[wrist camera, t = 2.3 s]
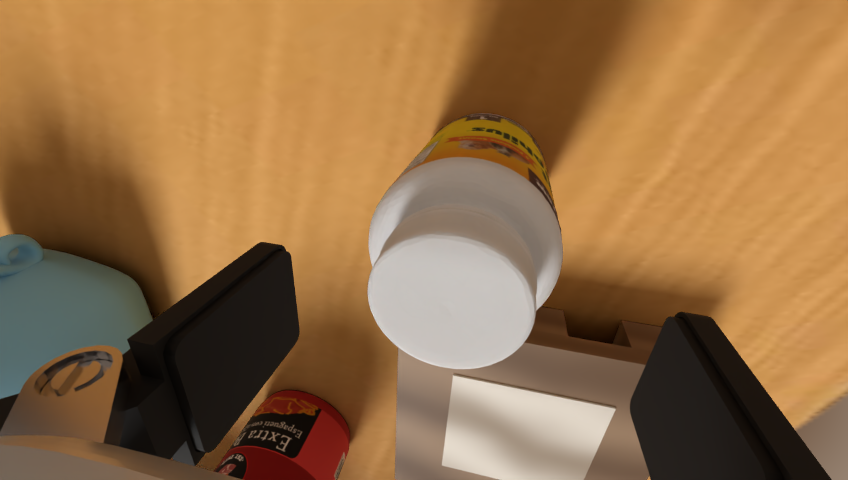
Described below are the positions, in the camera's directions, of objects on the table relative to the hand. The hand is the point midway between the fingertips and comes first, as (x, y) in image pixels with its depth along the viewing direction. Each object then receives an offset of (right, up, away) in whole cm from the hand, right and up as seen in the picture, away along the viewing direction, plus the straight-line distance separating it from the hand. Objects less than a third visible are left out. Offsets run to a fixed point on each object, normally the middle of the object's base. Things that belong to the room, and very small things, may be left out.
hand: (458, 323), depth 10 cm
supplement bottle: (+2, +5, +8) cm, 10 cm away
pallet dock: (+5, -8, +14) cm, 17 cm away
